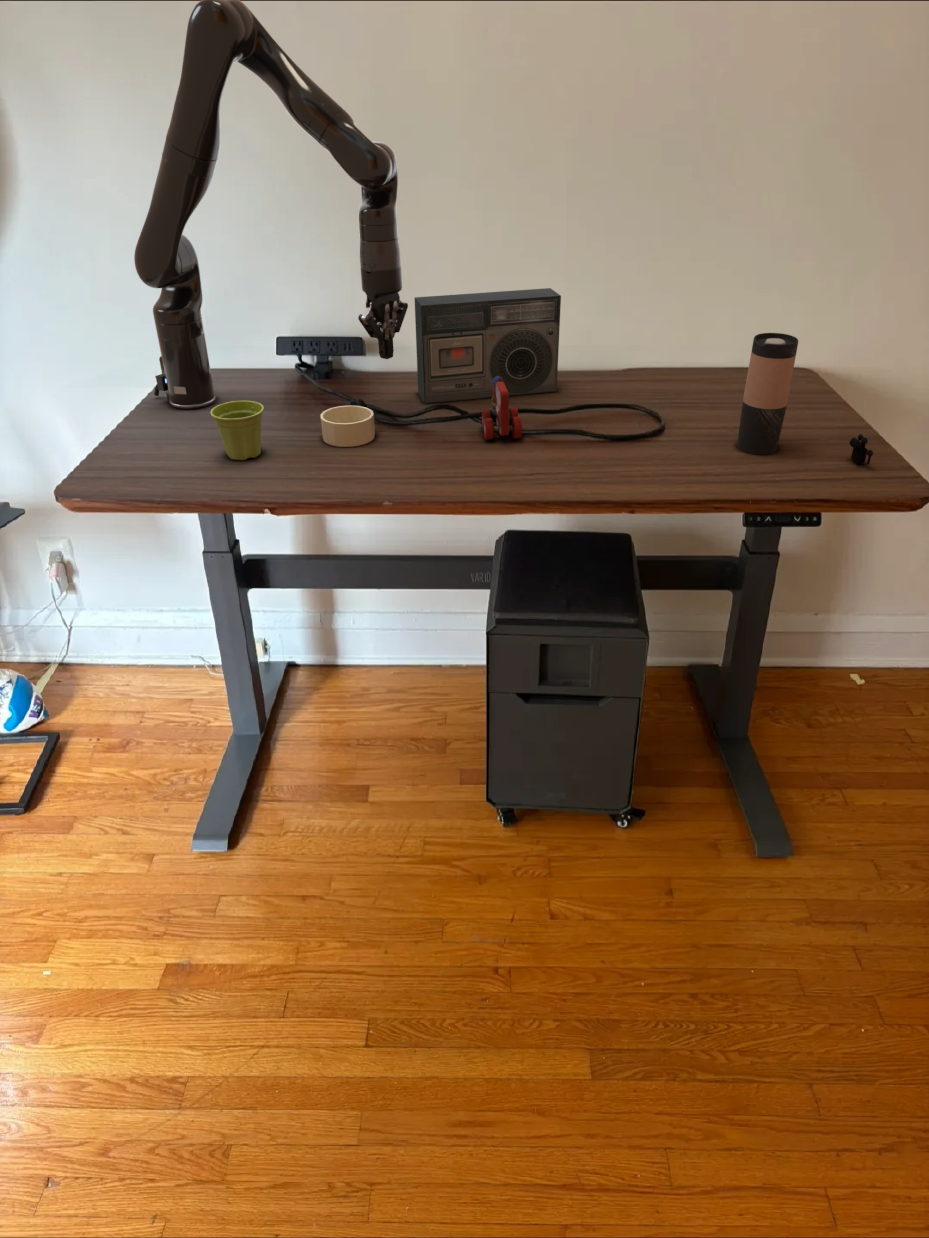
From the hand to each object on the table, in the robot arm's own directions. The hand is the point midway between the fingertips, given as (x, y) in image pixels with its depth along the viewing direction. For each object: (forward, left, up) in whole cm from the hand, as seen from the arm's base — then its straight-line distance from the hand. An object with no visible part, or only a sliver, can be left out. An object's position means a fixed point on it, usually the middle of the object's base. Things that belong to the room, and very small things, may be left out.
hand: (386, 357), depth 175 cm
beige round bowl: (0, -13, -12) cm, 18 cm away
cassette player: (+9, +23, -12) cm, 28 cm away
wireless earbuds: (+85, +25, -12) cm, 89 cm away
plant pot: (-11, -30, -12) cm, 34 cm away
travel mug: (+68, +23, -12) cm, 73 cm away
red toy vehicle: (+24, +4, -12) cm, 27 cm away
